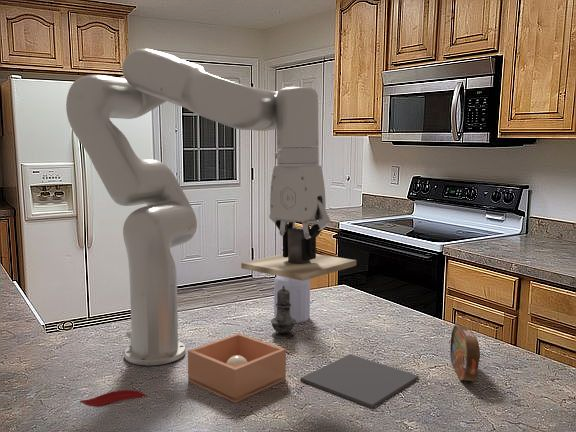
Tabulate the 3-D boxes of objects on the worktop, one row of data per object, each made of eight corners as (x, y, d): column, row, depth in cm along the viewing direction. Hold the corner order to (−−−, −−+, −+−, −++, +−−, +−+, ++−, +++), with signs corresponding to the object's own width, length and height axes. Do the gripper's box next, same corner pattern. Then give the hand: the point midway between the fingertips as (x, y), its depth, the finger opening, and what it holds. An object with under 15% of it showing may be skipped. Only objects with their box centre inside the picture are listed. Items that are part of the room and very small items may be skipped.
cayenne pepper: (74, 408, 95) (73, 398, 95) (83, 396, 100) (82, 386, 99) (145, 407, 96) (145, 397, 95) (150, 395, 100) (150, 385, 100)
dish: (188, 381, 105) (187, 350, 104) (238, 361, 115) (238, 333, 114) (235, 403, 97) (235, 369, 96) (285, 379, 106) (285, 349, 105)
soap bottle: (270, 314, 146) (270, 221, 142) (302, 311, 148) (304, 220, 145) (279, 325, 137) (280, 226, 134) (314, 322, 140) (316, 225, 137)
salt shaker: (293, 341, 127) (293, 289, 125) (268, 339, 128) (268, 288, 126) (297, 332, 132) (298, 283, 131) (273, 330, 134) (273, 281, 132)
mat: (300, 380, 106) (300, 377, 106) (349, 356, 118) (350, 354, 118) (372, 408, 95) (372, 404, 95) (418, 378, 107) (418, 375, 107)
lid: (241, 268, 102) (240, 230, 102) (296, 255, 113) (295, 221, 112) (302, 280, 92) (302, 239, 91) (356, 265, 103) (356, 228, 102)
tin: (448, 357, 118) (450, 318, 117) (463, 358, 118) (465, 319, 117) (462, 388, 103) (465, 344, 102) (480, 389, 103) (482, 345, 102)
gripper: (250, 158, 103) (253, 255, 106) (320, 158, 92) (321, 267, 94) (278, 157, 109) (280, 249, 111) (347, 157, 97) (348, 260, 100)
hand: (299, 256), depth 103 cm, fingers closed on lid, 4 cm apart
